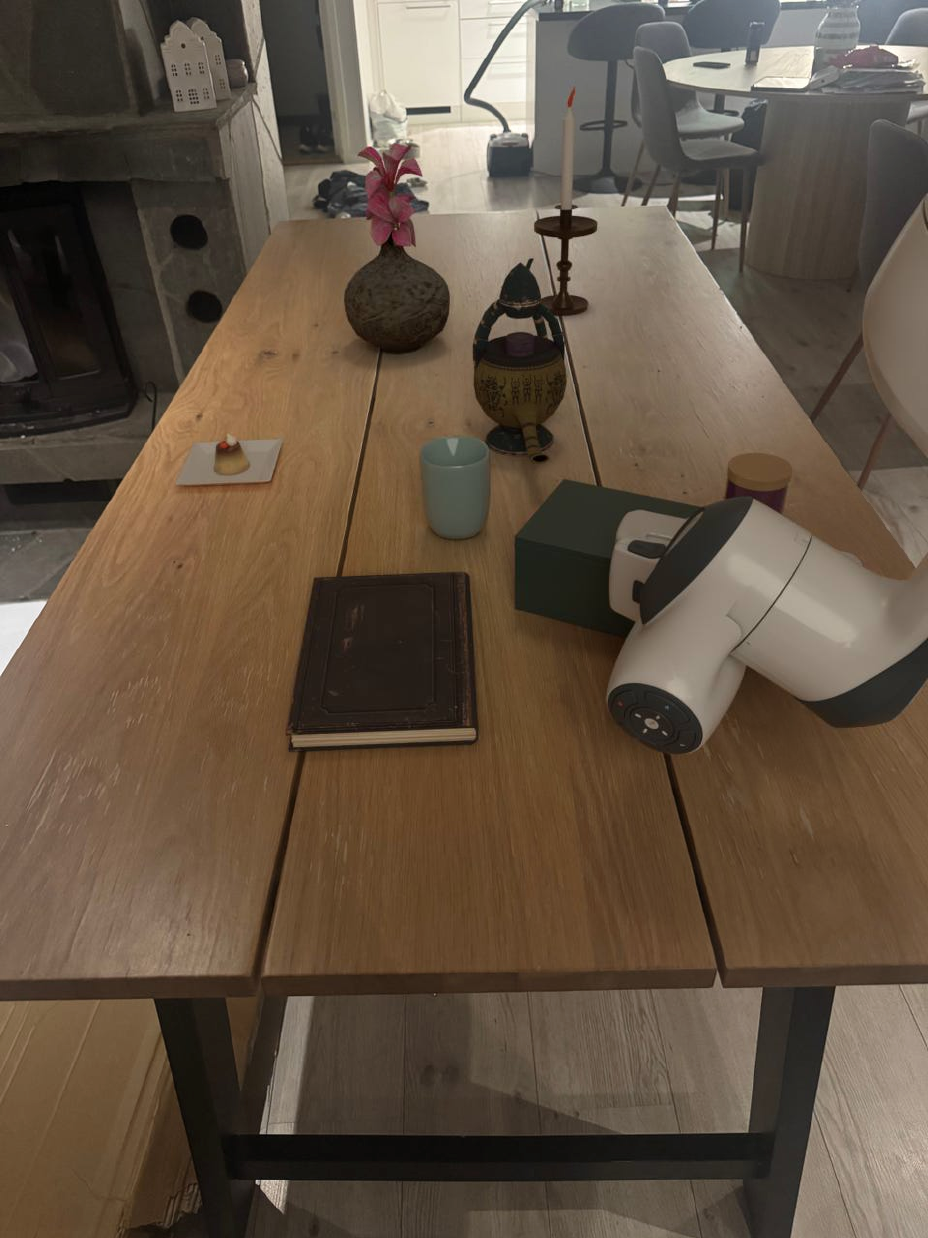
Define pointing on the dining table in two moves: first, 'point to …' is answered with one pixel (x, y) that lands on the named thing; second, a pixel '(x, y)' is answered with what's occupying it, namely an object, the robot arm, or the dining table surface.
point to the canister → (759, 479)
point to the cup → (455, 485)
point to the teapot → (519, 370)
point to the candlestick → (566, 226)
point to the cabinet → (578, 553)
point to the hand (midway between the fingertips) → (751, 521)
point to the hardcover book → (386, 664)
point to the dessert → (230, 462)
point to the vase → (394, 267)
